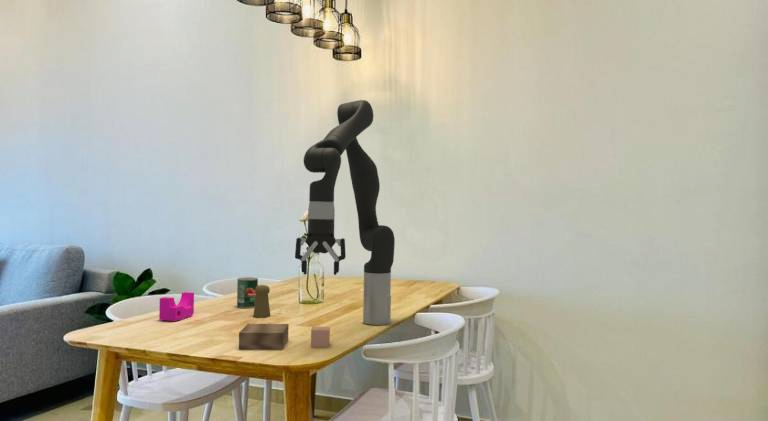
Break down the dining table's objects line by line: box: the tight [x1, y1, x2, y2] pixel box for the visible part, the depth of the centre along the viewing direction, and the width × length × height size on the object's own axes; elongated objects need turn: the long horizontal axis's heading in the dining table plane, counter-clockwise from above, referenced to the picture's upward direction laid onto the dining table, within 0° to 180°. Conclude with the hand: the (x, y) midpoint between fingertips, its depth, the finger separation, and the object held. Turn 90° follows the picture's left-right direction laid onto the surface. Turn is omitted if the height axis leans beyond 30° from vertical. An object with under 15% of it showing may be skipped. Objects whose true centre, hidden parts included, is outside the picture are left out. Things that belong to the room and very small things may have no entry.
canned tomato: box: [236, 277, 259, 309], centre depth 219 cm, size 8×8×11 cm
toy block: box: [158, 291, 195, 322], centre depth 198 cm, size 15×6×8 cm, turn 166°
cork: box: [252, 284, 271, 318], centre depth 201 cm, size 6×6×11 cm
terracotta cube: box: [310, 326, 331, 349], centre depth 159 cm, size 5×5×5 cm
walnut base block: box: [238, 323, 289, 351], centre depth 159 cm, size 12×12×5 cm
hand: (320, 274), depth 159 cm, fingers open, 8 cm apart
